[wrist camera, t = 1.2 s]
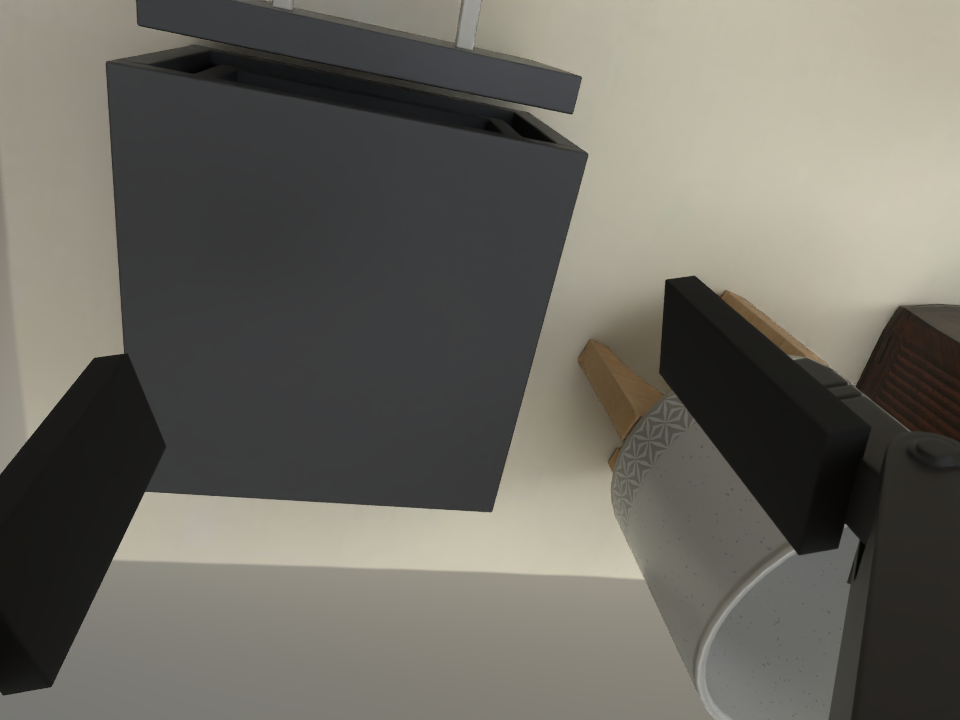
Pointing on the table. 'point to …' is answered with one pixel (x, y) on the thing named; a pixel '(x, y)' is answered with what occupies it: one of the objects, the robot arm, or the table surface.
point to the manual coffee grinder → (918, 369)
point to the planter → (722, 552)
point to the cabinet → (329, 281)
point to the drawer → (367, 56)
